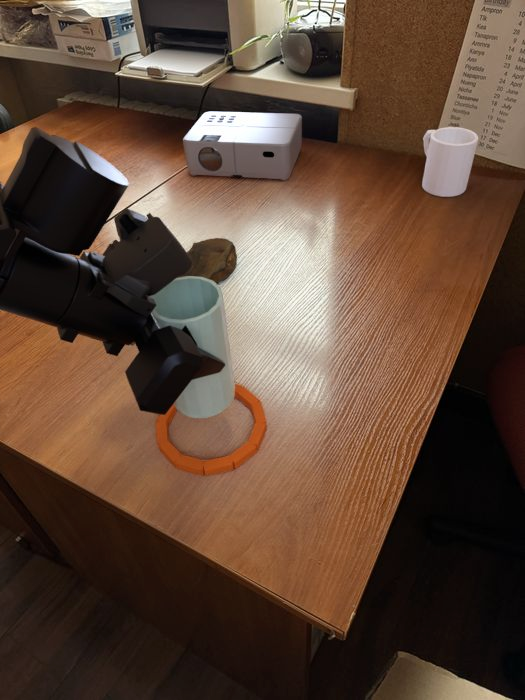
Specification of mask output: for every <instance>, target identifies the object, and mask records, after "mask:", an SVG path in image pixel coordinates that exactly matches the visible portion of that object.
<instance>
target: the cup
mask: <svg viewBox="0 0 525 700" xmlns="http://www.w3.org/2000/svg"><path fill="white" fill-rule="evenodd" d="M149 297H150V298H152V299H154V301H155V303H156V307H155V308H154V310H153V311H152V313H153V314H154V316H155V318H156V320H157V322H158V324H159V326H160V327H161V328H163V327H166V326H169V325H171V326H173V327H176V328H179V329H181V330H182V329H183V328H184V326H185V325H186V326H187V327H188V329H189V331H190V332H191V334H192V336H193V337H194V339H195V341H196V343H197V345H198V347H199V348H201V349H203V350H205V351H206V352H208V353H210V354H212V355H214V356H216V357H217V358H219V359H220V360H222V361H223V362H224V363H225V367H224V368H223V369H222V370H221V372H219V373H216V374H212V375H208V376H205V377H201V378H197V379H194V380H191V382H190V383H189V384H188V386H187V387H186V388H185V389H184V391H183V392H182V393H181V395H180V396H179V397H178V399H177V400H176V401H175V402H174V406H175V408H176V409H177V412H179V413H180V414H182V415H183V416H186V417H187V418H191V419H192V418H193V419H207V418H208V419H209V418H211V417H214V416H217V415H219V414H221V413H222V412H224V411H225V410H227V409H228V408H229V407H230V406H231V404H232V403H233V402H234V399H235V398H234V396H235V384H236V382H235V375H234V369H233V360H232V352H231V345H230V344H231V343H230V337H229V329H228V322H227V321H228V320H227V313H226V305H225V298H224V293H223V290H222V287H221V286H220V285H219V284H216V283H215V282H214V281H213V280H210V279H207V278H204V277H197V276H185V277H179V278H176V279H174V280H173V281H172V282H171V283H169V284H168V285H167V286H166V287H164V288H163V289H162V290H160V291H159V292H158V293H156V294H155V295H152V296H149Z"/></svg>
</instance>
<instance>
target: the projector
mask: <svg viewBox="0 0 525 700" xmlns="http://www.w3.org/2000/svg"><path fill="white" fill-rule="evenodd" d="M302 142H303V117H302V115H301V114H300V113H283V112H281V113H280V112H279V113H277V112H276V113H275V112H244V111H243V112H242V111H205V112H204V113H203V114H201V116H200V117H199V118H198V120H197V121H196V122H195V123H194V125H193V126H192V127H191V129H189V131H188V132H187V133H186V134H185V136H184V137H183V138H182V143H183V150H184V156H185V162H186V163H185V164H186V168H187V170H188V173H189V174H190V175H191V176H194V177H195V176H214V177H232V178H235V179H240V178H250V179H251V178H252V179H253V178H254V179H271V180H273V179H274V180H281V181H283V182H284V181H287V180H288V179H289V178H290V177H291V175H292V172H293V170H294V167H295V165H296V162H297V160H298V157H299V155H300V153H301V150H302V145H303V143H302Z"/></svg>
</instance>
